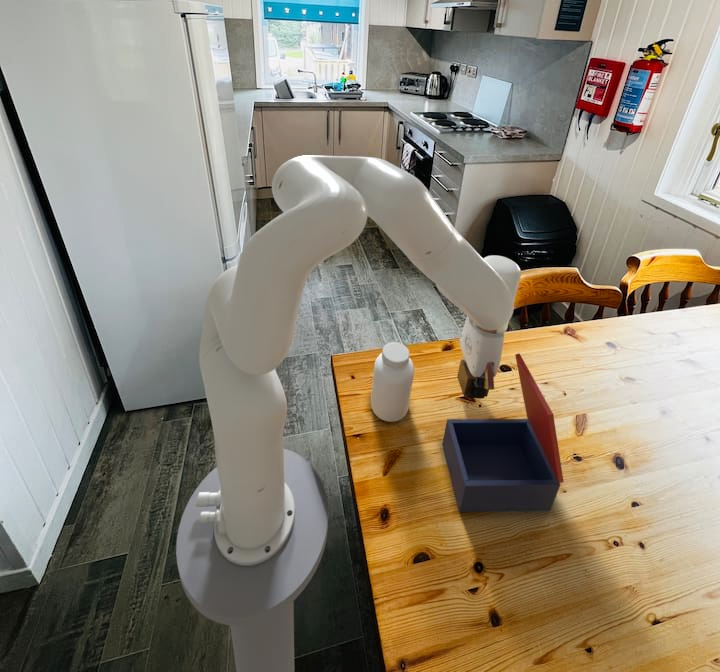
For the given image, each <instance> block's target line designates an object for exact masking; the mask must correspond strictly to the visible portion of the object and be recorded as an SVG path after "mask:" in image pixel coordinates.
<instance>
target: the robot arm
mask: <svg viewBox="0 0 720 672" xmlns="http://www.w3.org/2000/svg"><path fill="white" fill-rule="evenodd" d="M273 175H274V176H273V178H272V182H271V193H272V197H273V199H274V201H275V203H276V205H277V207H278V208H279V209H280V210H281V212H282V213H280V214H279V215H277V216H276V217H274V218H273V219H272V220H270V221H269V222H267V223H266V224H265V225H264V226H262V227H261V228H260V229H259V230H257V231H256V232H255V233H253V235H252V236H251V237H250V238H249V239H248V241H246V243H245V245H244V246H243V248H242V251H241V253H240V256H239V259H238V263H237V265H234V266H231V267H230V268H228V269H226V270H224V271H223V272H222V273H221V274H220V275H219V276H217V278H216V279H215V280H214V282H213V283H212V284H211V287H210V289H209V291H208V293H207V297H206V301H205V309H204V314H203V321H202V329H201V330H202V331H201V336H200V344H199V351H198V352H199V355H198V360H199V369H200V373H201V378H202V382H203V386H204V387H203V388H204V390H205V391H204V392H205V397H206V401H207V407H208V410H209V416H210V421H211V426H212V433H213V439H214V454H215V456H214V457H215V461H216V462H215V463H216V467H217V470H218V478H219V486H220V490H219V492H216V493H211V492H199V494H198V497H197V502H196V506H197V507H208V506H216V509H217V511H216V512H210V511H202V512H201V514H200V519H199V522H200V523H208V522H214V535H215V540H216V544H217V546H218V549H219V550H220V552H221V553H222V555H223V556H224V557H225V558H226V559H227V560H228V561H230V562H232V563H234V564H237V565H242V566H252V565H256V564H260V563H262V562H264V561H266V560H268V559H269V558H271V557H272V556H273V555H275V554H276V553H277V552H278V551H279V550H280V549H281V548H282V546H283V545H284V543H285V542H286V540H287V539H288V537H289V535H290V532H291V530H292V527H293V523H294V517H295V505H294V498H293V495H292V492H291V490H290V489H289V487H288V486H287V484H286V483H285V482H284V449H285V448H284V446H285V445H284V431H285V430H284V429H285V425H286V420H287V416H288V402H287V397H286V393H285V390H284V387H283V385H282V382H281V379H280V378H279V375H278V373H277V370H276V369H277V368H278V367H279V366H280V365H281V364H282V363H283V362H284V360H285V358H286V357H287V355H288V354H289V350H290V348H291V346H292V342H293V338H294V333H295V331H296V330H295V329H296V325H297V321H298V320H297V319H298V316H299V310H300V306H301V301H302V297H303V293H304V289H305V287H306V284H307V280H308V278H309V276H310V275H311V273H312V272H313V271H314V270H315V269H316V268H317V267H318V266H319V265H320V264H322V262H324V261H326V260H327V259H329V258H330V257H332V256H334V255H335V254H337V253H339V252H341V251H342V250H345V249H346V248H347V247H349V246H350V245H352V244H353V243H355V241H356V240H357V239H358V238H359V237H360V235H361V234H362V232H363V231H364V229H365V227H366V225H367V221H368V218H370V219H371V220H372V221H373V222H374V223H376V225H377V226H378V227H379V228H380V229H381V230H382V231H383V232H384V233H385V234H386V235H387V237H388V238H390V240H391V241H392V242H393V243H394V244H395V245H396V246H397V247H398V249H400V251H401V252H402V253H403V254H404V255H405V256H406V257H407V258H408V260H409V262H411V264H413V265H414V266H415V267H416V268H417V269H418V270H419V271H420V272H421V273H422V274H423V275H425V276H426V278H428V279H429V280H430V281H432V282H433V283H434V284H435V286H436V288H437V290H438V292H439V293H440V294H441V295H442V296H443V297H444V298H446V300H448V301H449V302H450V303H451V304H453V305H454V306H455V307H456V308H458V309H459V310H460V311H461V312H462V313H463V314H464V315H466V317H465V320H464V323H463V327H462V331H461V334H460V337H459V338H460V339H459V346H460V349H461V353H462V355H463V359H465V360H466V363H467V366H468V368H469V370H470V373H471V374H472V375H473V376H474V382H472V383H471V388H470V392H469V396H468V397H469V399H476V400H477V399H480V400H481V399H485V398H486V397H485V394H486V390H489V391H492V390H494V391H495V377H496V376H497V374H498V372H499V368H500V365H501V360H502V354H503V348H504V341H505V340H504V339H505V333H506V332H507V330H508V326H509V322H510V320H511V318H512V316H513V314H514V309H515V301H516V298H517V297H516V296H517V293H518V289H519V285H520V282H521V278H522V271H521V268H520V266H519V265H518V264H517V263H516V262H515V261H513V260H512V259H510V258H509V257H506V256H502V255H494V254H493V255H492V254H491V255H487V256H485V257H482V256H481V255H480V254H479V253H478V252H477V250H476V249H475V248H474V247H473V246H472V245H471V244H470V243H469V242H468V241H467V239H465V238H464V236H462V235H461V234H460V233H459V232H458V230H457V229H456V228H455V226H454V225H453V223H452V222H451V220H450V219H449V218H448V217H447V215H446V214H445V212H444V210H443V209H442V208H441V207H440V205H439V204H438V202H437V201H436V199H435V198H434V196H433V194H431V192H430V191H429V189H428V188H427V187H426V186H425V185H424V183H423V182H422V181H421V180H420V179H419V178H418V177H416V176H415V175H413V174H412V173H410V172H408V171H406V170H404V169H402V168H401V167H399V166H396V165H395V164H393V163H391V162H389V161H387V160H386V159H383V158H379V157H374V156H373V157H372V156H355V155H354V156H352V155H351V156H350V155H300V156H296V157H293V158H291V159H288V160H287V161H285V162H284V163H282V164H281V165H280V166H279V167H278V169H277V170H276V171H275V173H274V174H273ZM481 375H485V380H479V377H480V376H481ZM289 515H291V516H289ZM267 551H269V552H268V553H266V552H267ZM230 552H232V553H231V554H229V553H230Z"/></svg>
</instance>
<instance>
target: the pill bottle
mask: <svg viewBox="0 0 720 672" xmlns="http://www.w3.org/2000/svg"><path fill="white" fill-rule="evenodd" d="M381 351H382V352H381V353H380V354H379V355H378V356H377V358H376V359H375V361H374V366H373V375H372V385H371V393H370V394H371V395H370V406H371V410H372V412H373V413H374V415H375V416H376V418H378V419H380V420H382V421H384V422H388V423H396V422H398V421H401V420H402V419H403V418H405V417H406V415H407V413H408V410H409V407H410V401H411V394H412V389H413V381H414V375H415V365H414V363H413V361H412V359H411V358H410V350H409V348H408V347H407V346H406V345H405V344H403V343H401V342H399V341H391V342H388V343H386V344H385V345H384V346H383V347H382V350H381Z"/></svg>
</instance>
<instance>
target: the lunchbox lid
mask: <svg viewBox="0 0 720 672" xmlns="http://www.w3.org/2000/svg"><path fill="white" fill-rule="evenodd" d="M514 356H515V361H516V366H517V371H518V377H519V381H520V387H521V393H522V398H523V402H524V409H525V413H526V419H528V420H529V422H530V424H531V427H532V429H533V431H534V433H535V435H536V437H537V439H538V441H539V443H540V445H541V447H542V449H543V451H544V454H545V456H546V458H547V460H548V462H549V464H550V466H551V468H552V470H553V472H554V474H555V476H556V478H557V480H558V483H560V484H563V483H564V482H565V481H564V476H563V470H562V463H561V455H560V449H559V442H558V436H557V430H556V422H555V417H554V412H553V411H552V409H551V407H550V406H549V404H548V402H547V400H546V398H545V396H544V394H543V393H542V391H541V389H540V387H539V386H538V383H537V382H536V380H535V379H534V376H533V375H532V373H531V372H530V371H531V370H529V367H528V365H527V364H526V363H525V360H524V358H523V357H522V355H521V353H515V355H514Z"/></svg>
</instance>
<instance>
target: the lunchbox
mask: <svg viewBox="0 0 720 672" xmlns="http://www.w3.org/2000/svg"><path fill="white" fill-rule="evenodd" d="M445 423H446V424H445V428H444V433H443V437H442V449H443V453H444V457H445V461H446V465H447V469H448V473H449V478H450V481H451V486H452V489H453V494H454V497H455V498H454V499H455V501H456V506H457V511H458V513H489V512H490V513H491V512H492V513H493V512H494V513H496V512H500V513H501V512H546V511H547V512H549V511H551V510H552V507H553V505H554V503H555V500H556V497H557V495H558V493H559V489H560V487H561V483H558V480H557V478H556V476H555V474H554V472H553V470H552V468H551V466H550V464H549V462H548V460H547V458H546V456H545V454H544V451H543V449H542V447H541V445H540V443H539V441H538V439H537V437H536V435H535V433H534V431H533V429H532V427H531V424H530V422H529V420H528V418H455V419H454V418H447V419H446V422H445Z"/></svg>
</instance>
